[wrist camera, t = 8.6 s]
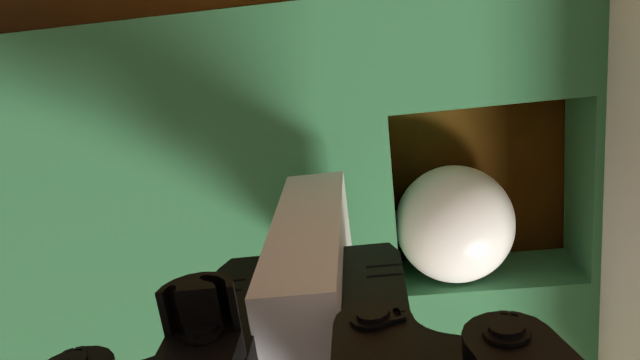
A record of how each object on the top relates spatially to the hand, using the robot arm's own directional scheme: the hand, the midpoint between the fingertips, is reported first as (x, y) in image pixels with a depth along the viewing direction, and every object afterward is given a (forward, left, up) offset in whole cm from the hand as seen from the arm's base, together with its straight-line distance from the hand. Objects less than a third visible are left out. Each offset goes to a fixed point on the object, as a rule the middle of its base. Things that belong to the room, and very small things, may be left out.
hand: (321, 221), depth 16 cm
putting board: (0, -2, -4) cm, 4 cm away
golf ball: (+1, +3, -3) cm, 5 cm away
